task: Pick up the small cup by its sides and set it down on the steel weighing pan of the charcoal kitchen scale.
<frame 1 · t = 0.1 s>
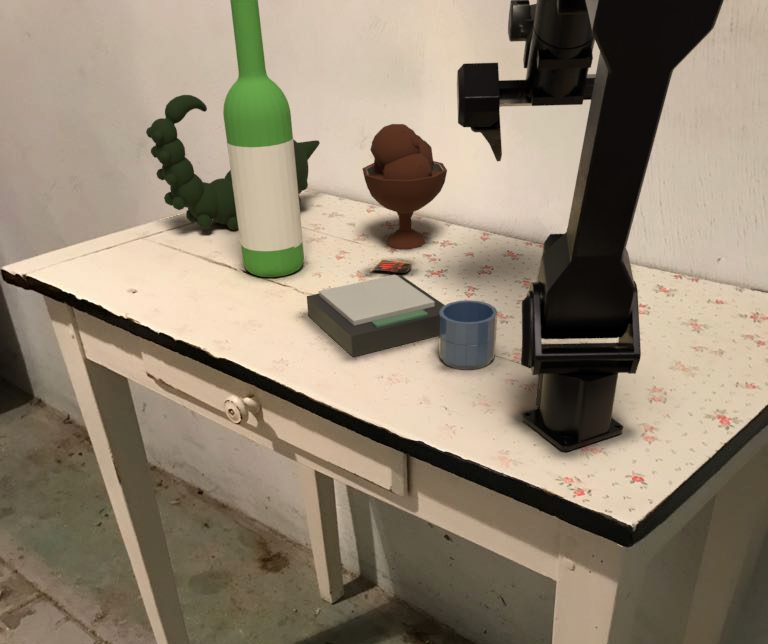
hand: (541, 157, 88), 15 cm above the table, tool tilted 30°, fingers open, 9 cm apart
small cup: (466, 358, 83), on the table
matchbox: (393, 269, 104), on the table
kitchen scale: (379, 323, 91), on the table
ice cream bowl: (405, 243, 112), on the table
wine bottle: (274, 270, 105), on the table
toy figurine: (250, 221, 121), on the table
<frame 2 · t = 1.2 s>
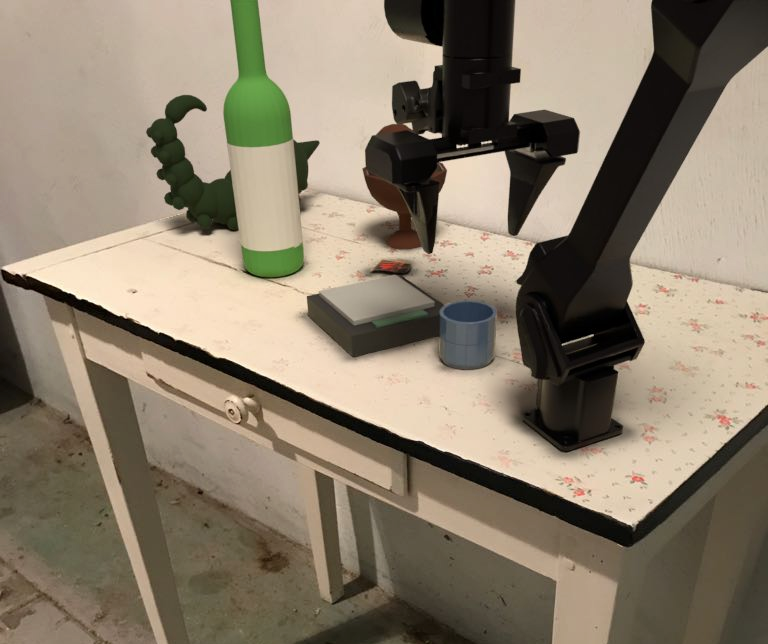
hand: (471, 243, 76), 12 cm above the table, tool pointing down, fingers open, 9 cm apart
nothing on the table moved.
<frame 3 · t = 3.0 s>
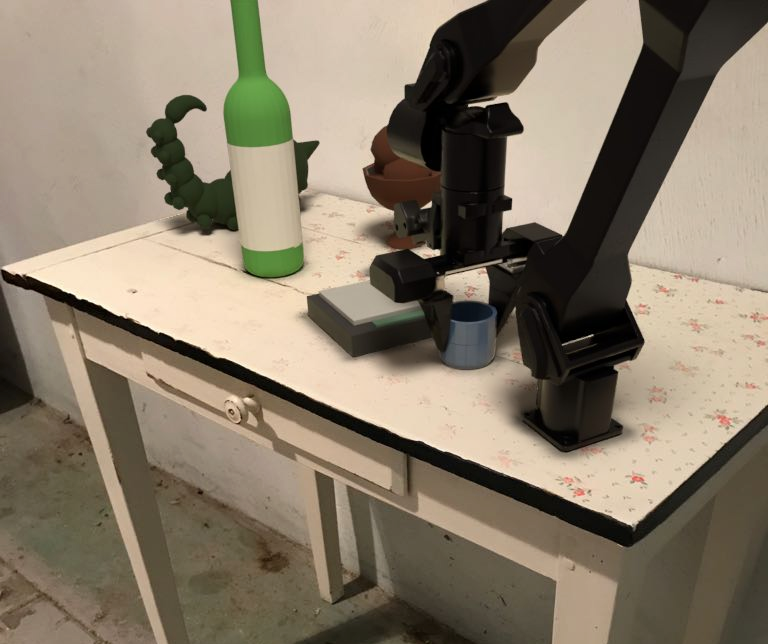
hand: (467, 344, 82), 2 cm above the table, tool pointing down, fingers closed on small cup, 6 cm apart
small cup: (466, 358, 83), on the table, touching gripper
everything else where it was.
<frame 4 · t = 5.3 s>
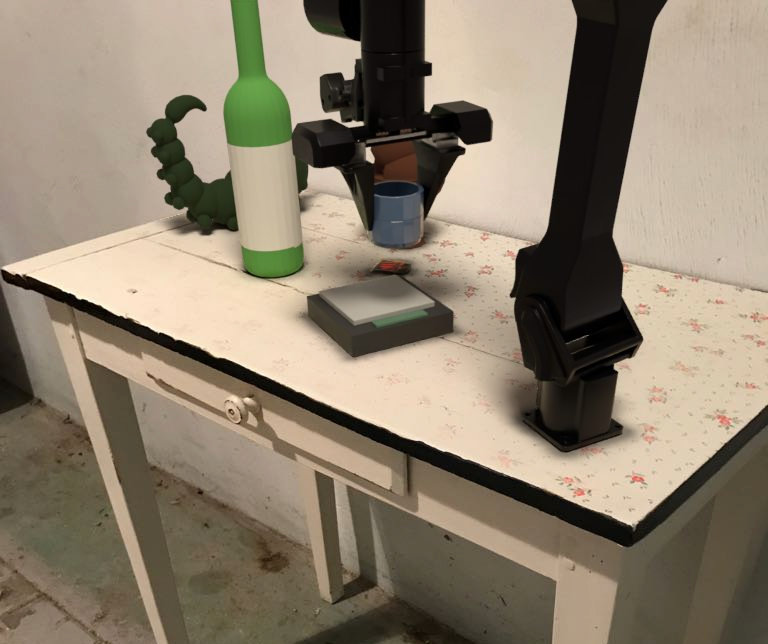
hand: (395, 224, 82), 11 cm above the table, tool pointing down, fingers closed on small cup, 6 cm apart
small cup: (395, 239, 83), point 10 cm above the table, touching gripper
everything else where it was.
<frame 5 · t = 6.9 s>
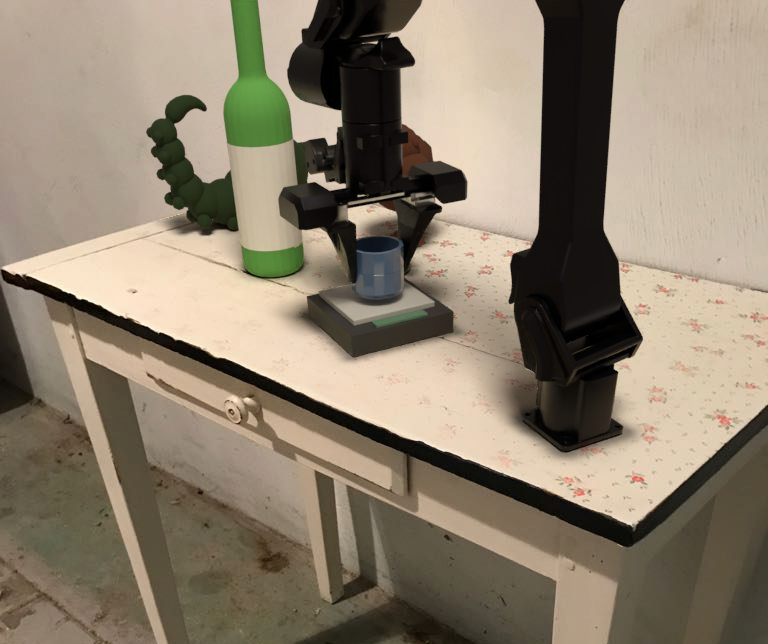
hand: (377, 276, 87), 5 cm above the table, tool pointing down, fingers closed on small cup, 6 cm apart
small cup: (377, 290, 88), point 4 cm above the table, touching gripper
everything else where it was.
when the fingers open (4 cm above the table, at t = 7.6 s): small cup stays where it is, resting on kitchen scale.
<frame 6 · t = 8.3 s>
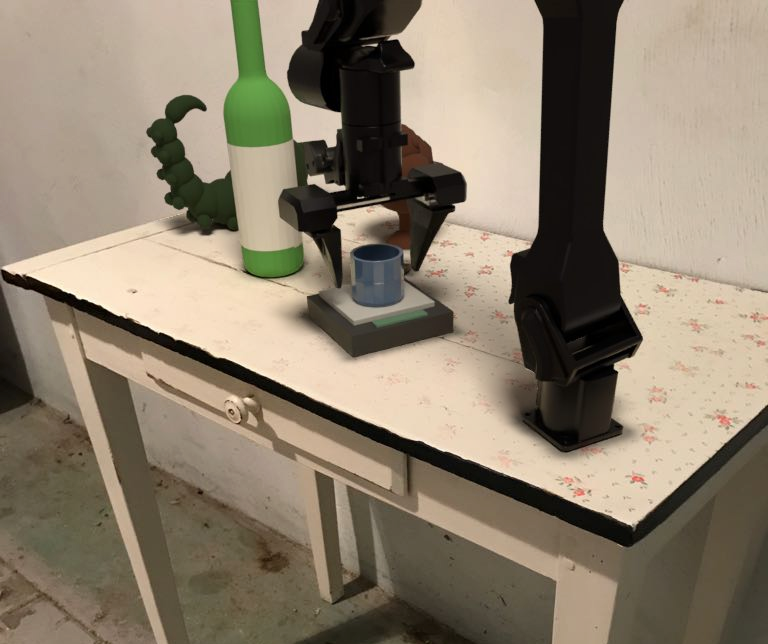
hand: (377, 278, 88), 5 cm above the table, tool pointing down, fingers open, 9 cm apart
small cup: (378, 298, 89), point 3 cm above the table, touching kitchen scale
everything else where it was.
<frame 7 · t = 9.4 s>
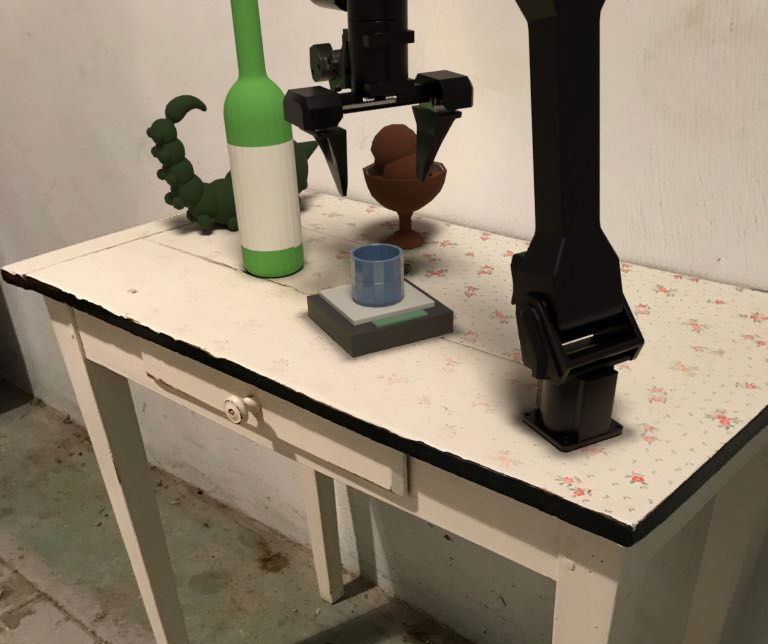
hand: (382, 188, 87), 13 cm above the table, tool pointing down, fingers open, 9 cm apart
nothing on the table moved.
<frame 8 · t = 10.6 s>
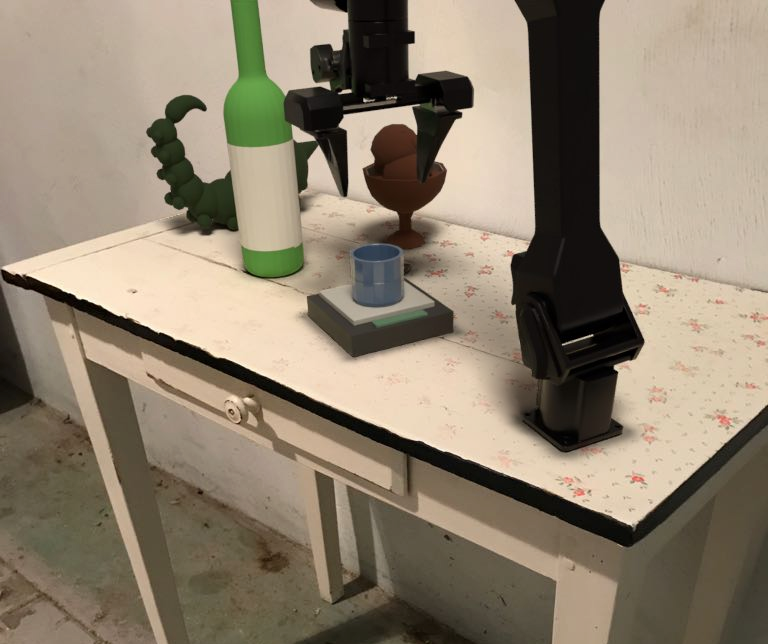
hand: (383, 189, 87), 13 cm above the table, tool pointing down, fingers open, 9 cm apart
nothing on the table moved.
at the end: small cup inside the target area on the kitchen scale (0.2 cm from its centre), point 3.0 cm above the kitchen scale's base; small cup tilted 0°; the gripper is holding nothing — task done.
